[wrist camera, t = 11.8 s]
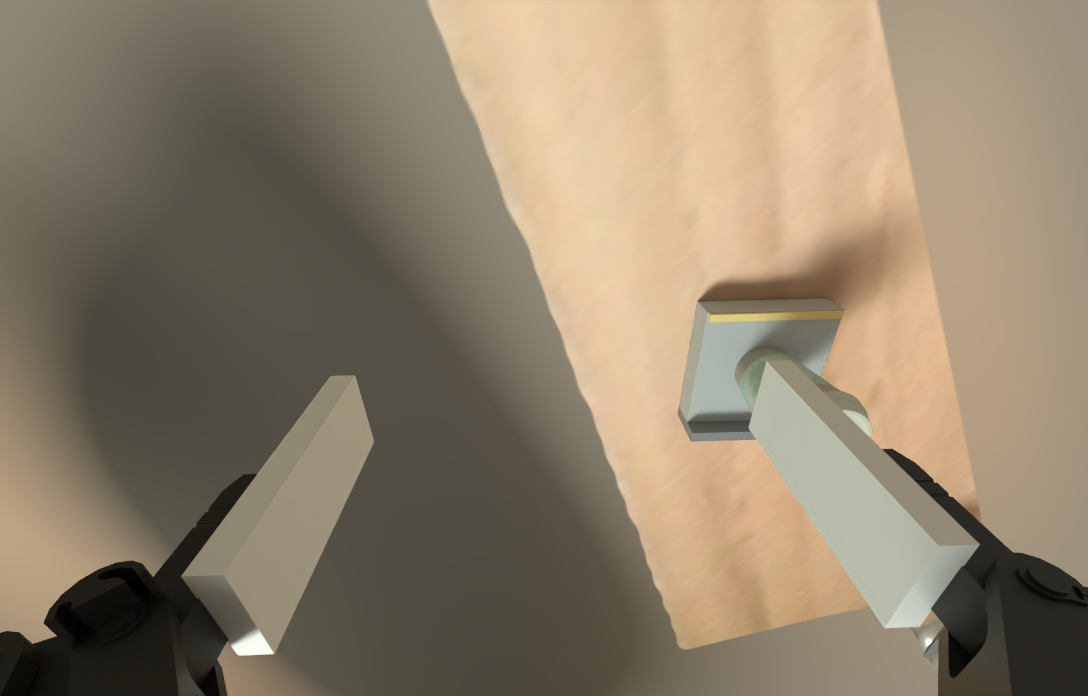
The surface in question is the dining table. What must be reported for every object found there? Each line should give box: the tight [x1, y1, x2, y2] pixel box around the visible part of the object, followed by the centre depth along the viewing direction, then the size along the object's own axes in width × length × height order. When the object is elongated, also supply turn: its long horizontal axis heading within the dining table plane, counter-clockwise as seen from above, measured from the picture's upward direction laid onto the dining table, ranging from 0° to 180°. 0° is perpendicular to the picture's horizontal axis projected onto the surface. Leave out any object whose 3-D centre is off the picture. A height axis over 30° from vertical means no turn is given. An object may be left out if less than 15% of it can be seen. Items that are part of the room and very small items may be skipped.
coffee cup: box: [735, 347, 873, 439], centre depth 41 cm, size 8×8×12 cm
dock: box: [678, 298, 844, 441], centre depth 47 cm, size 15×14×5 cm
